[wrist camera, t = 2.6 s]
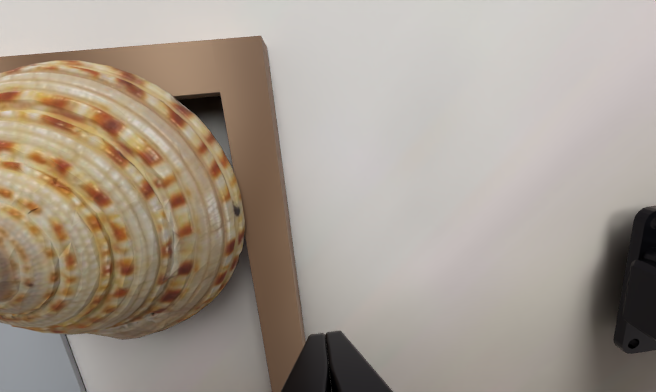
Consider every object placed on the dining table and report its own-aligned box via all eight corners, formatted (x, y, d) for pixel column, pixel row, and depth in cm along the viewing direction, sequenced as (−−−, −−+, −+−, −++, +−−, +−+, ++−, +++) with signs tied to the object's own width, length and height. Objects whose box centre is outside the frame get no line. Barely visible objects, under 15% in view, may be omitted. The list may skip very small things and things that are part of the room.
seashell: (11, 373, 11) (-435, 250, 4) (86, 232, 14) (-102, 58, 8) (257, 357, 11) (154, 217, 5) (268, 222, 14) (219, 45, 8)
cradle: (266, 47, 10) (260, 36, 9) (316, 426, 15) (318, 462, 13) (-32, 72, 10) (-93, 64, 8) (110, 457, 14) (86, 499, 13)
